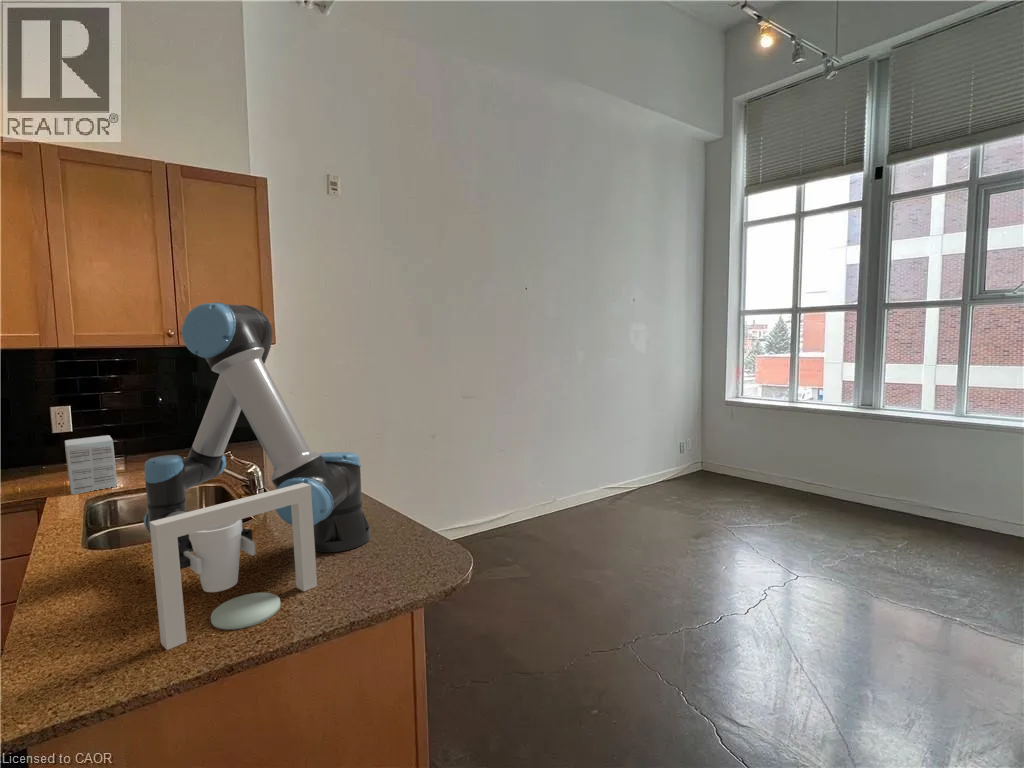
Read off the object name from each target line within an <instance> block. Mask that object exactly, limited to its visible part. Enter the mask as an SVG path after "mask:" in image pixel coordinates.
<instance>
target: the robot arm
mask: <svg viewBox="0 0 1024 768" xmlns="http://www.w3.org/2000/svg"><path fill="white" fill-rule="evenodd" d="M184 318H185V319H184V323H183V324H182V329H181V334H182V336H181V337H182V340H183V343H184V345H185V347H186V348H187V350H188V351H190V353H192V354H194V355H196V356H197V357H200V358H204V359H205V361H206V362H207V365H208V366H209V368H210V371H212V372H214V373H217V374H219V376H218V379H217V380H216V383H215V386H214V387H213V391H212V394H211V396H210V399H209V401H208V404H207V407H206V409H205V411H204V415H203V417H202V420H201V423H200V425H199V428H198V429H197V433H196V436H195V438H194V441H193V442H192V446H191V448H190V450H189V453H188V455H187V456H186V457H181V456H180V455H177V454H165V455H159V456H155V457H151V458H149V459H147V460H146V461H145V463H144V477H143V478H144V479H143V480H144V482H145V491H146V501H147V503H146V504H147V511H146V512H145V515H144V517H143V524H144V527H145V529H146V530H147V531H148V533H150V522H151V521H155V520H159V519H163V518H167V517H171V516H175V515H178V514H182V513H186V512H187V503H186V490H188V489H192V488H193V487H195V486H197V485H200V484H203V483H204V482H205V483H206V482H207V481H211V480H214V478H216V477H217V476H219V475H221V474H222V473H223V472H224V471H225V470H226V467H227V458H226V456H225V455H224V453H225V451H226V449H227V445H228V444H229V440H230V438H231V436H232V434H233V431H234V429H235V426H236V425H237V424H236V423H237V422H238V418H239V416H240V414H241V412H243V415H244V416H245V418H246V420H247V421H248V423H249V425H250V428H251V429H252V431H253V433H254V435H255V436H256V438H257V441H259V444H260V445H261V447H262V450H263V451H264V453H265V456H266V457H267V458H268V461H269V462H270V464H271V466H272V468H273V470H274V471H273V473H272V475H271V478H270V479H271V481H272V484H273V485H274V487H275V490H276V489H280V488H284V487H288V486H292V485H296V484H300V483H306V484H309V485H311V494H312V510H313V526H314V543H315V552H319V553H320V552H321V553H338V552H345V551H349V550H353V549H356V548H358V547H361V546H363V545H365V544H366V543H367V542H369V541H370V539H371V527H370V524H369V522H368V520H367V517H366V515H365V513H364V512H365V511H364V509H363V503H362V501H363V498H362V482H361V481H362V479H361V467H362V465H361V463H360V455H358V454H357V453H356V452H350V451H349V452H348V451H339V452H338V451H336V452H335V451H334V452H322V453H321V452H320V453H318V452H316V451H312V450H311V449H310V447H309V445H308V444H307V442H306V439H305V437H304V436H303V433H302V432H301V430H300V428H299V426H298V424H297V423H296V421H295V419H294V417H293V414H292V413H291V411H290V410H289V408H288V405H287V404H286V401H285V400H284V398H283V397H282V395H281V393H280V391H279V389H278V388H277V387H278V386H276V384H275V382H274V380H273V378H272V376H271V375H270V372H269V370H268V368H267V367H266V365H265V364H266V361H267V358H268V356H269V353H270V350H271V347H272V344H273V333H274V332H273V326H272V324H271V322H270V319H269V318H268V317H267V315H266V314H265V313H264V312H263V311H261V310H260V309H258V308H256V307H254V306H252V305H251V306H250V305H248V304H247V305H246V304H228V303H222V302H211V303H202V304H199V305H197V306H195V307H193V308H192V309H191V310H190V311H189V312H188V314H187V315H186V316H185V317H184ZM275 511H276V513H277V515H278V516H279V517H280V519H281V520H283V521H284V522H285V523H287V524H289V525H291V526H292V512H291V505H289V506H286V507H282V508H279V509H275ZM177 538H178V549H179V560H180V570H182V569H190V570H191V571H193V572H194V573H195V574H197V575H199V574H200V573H202V566H201V559H200V558H198V557H197V556H195V555H194V553H192V552H193V548H192V544H191V541H190V540H189V534H187V535H184V536H180V537H177ZM240 551H243V552H245V553H246V554H248V555H249V556H255V555H256V554H257V553H256V542H255V541H254V539H253V530H252V529H250V528H249V529H248V528H244V527H243V530H242V532H241V546H240Z"/></svg>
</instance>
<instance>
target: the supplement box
mask: <svg viewBox="0 0 1024 768" xmlns="http://www.w3.org/2000/svg"><path fill="white" fill-rule="evenodd" d="M64 448H65V449H64V450H65V459H66V468H67V475H68V484H69V488H70V489H69V490H70V494H71V495H77V494H78V495H79V494H83V493H84V492H85V493H90V491H91V492H95V491H94V490H97V491H100V490H99V489H103V490H106V489H105V488H109V489H112V488H111V487H115V486H117V487H118V480H117V469H116V459H115V457H116V456H115V449H114V448H115V447H114V440H113V438H112V437H111V435H108V434H106V435H99V436H89V437H82V438H72V439H67V440H64ZM115 488H116V487H115Z"/></svg>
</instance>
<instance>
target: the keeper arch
mask: <svg viewBox="0 0 1024 768" xmlns="http://www.w3.org/2000/svg"><path fill="white" fill-rule="evenodd" d="M289 505H291V512H292V525H291V526H292V540H293V556H294V568H295V569H294V571H295V583H296V585H295V586H296V588H297V589H299V590H301V591H302V592H306V591H308V590H311V589H313V588H315V587H318V578H317V562H316V560H317V559H316V551H315V543H314V526H313V510H312V494H311V485H309V484H306V483H300V484H296V485H292V486H288V487H284V488H280V489H276V488H275V489H273V490H269V491H266V492H265V491H264V492H262V493H257V494H254V495H249V496H246V497H242V498H237V499H234V500H233V499H232V500H230V501H227V502H222V503H219V504H214V505H210V506H207V507H202V508H199V509H195V510H190V511H186V513H182V514H178V515H175V516H171V517H167V518H163V519H159V520H155V521H151V522H150V532H149V533H150V543H151V551H152V552H151V554H152V564H153V573H154V582H155V583H154V585H155V594H156V606H157V607H156V608H157V614H158V615H157V616H158V617H157V618H158V625H159V626H158V627H159V638H160V644H161V645H162V647H163V648H164V649H166V651H169V650H171V649H173V648H176V647H178V646H181V645H182V644H183V645H184V644H186V643H187V642H188V640H187V639H188V638H187V630H186V628H187V627H186V619H185V608H184V594H183V586H182V573H181V569H180V560H179V549H178V538H177V537H180V536H184V535H187V534H191V533H194V532H198V531H201V530H205V529H208V528H212V527H215V526H219V525H222V524H226V523H229V522H233V521H236V520H240V519H242V520H243V519H247V518H250V517H254V516H257V515H260V514H261V515H262V514H264V513H267V512H271V511H274V510H275V509H279V508H282V507H286V506H289ZM275 511H276V510H275ZM280 609H281V598H280V597H279V596H278V595H276V594H274V593H271V592H252V593H247V594H243V595H239V596H236V597H233V598H231V599H229V600H226V601H224V602H223V603H221V604H220V605H218V606H217V607H216V608H215V609H214V610H213V611H212V613H211V614H210V623H211V624H212V626H213V627H215V628H216V629H218V630H219V629H220V630H225V631H226V630H227V631H230V630H232V631H233V630H240V629H246V628H250V627H252V626H257V625H258V624H261V623H264V622H266V621H267V620H269V619H270V618H272V617H274V615H276V614H277V613H278V611H280Z"/></svg>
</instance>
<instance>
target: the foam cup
mask: <svg viewBox="0 0 1024 768" xmlns="http://www.w3.org/2000/svg"><path fill="white" fill-rule="evenodd" d="M243 528H244V527H243V519H240V520H236V521H233V522H229V523H226V524H222V525H219V526H215V527H212V528H208V529H205V530H201V531H198V532H194V533H191V534H189V540H190V541H191V544H192V548H193V551H192V552H193V554H194V555H195V556H197V557H198V558H200V559H201V566H202V573H200V574H198V577H199V580H200V585H201V587H202V590H203V592H205V593H218V592H223V591H226V590H228V589H231V588H232V587H234V586H236V585H237V583H238V581H239V570H240V559H241V558H240V557H241V556H240V555H241V549H240V546H241V532H242V530H243Z"/></svg>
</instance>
